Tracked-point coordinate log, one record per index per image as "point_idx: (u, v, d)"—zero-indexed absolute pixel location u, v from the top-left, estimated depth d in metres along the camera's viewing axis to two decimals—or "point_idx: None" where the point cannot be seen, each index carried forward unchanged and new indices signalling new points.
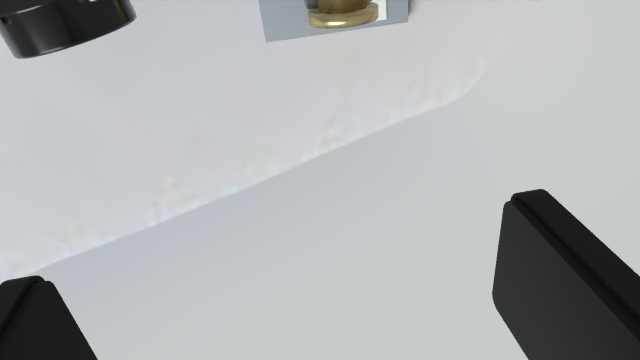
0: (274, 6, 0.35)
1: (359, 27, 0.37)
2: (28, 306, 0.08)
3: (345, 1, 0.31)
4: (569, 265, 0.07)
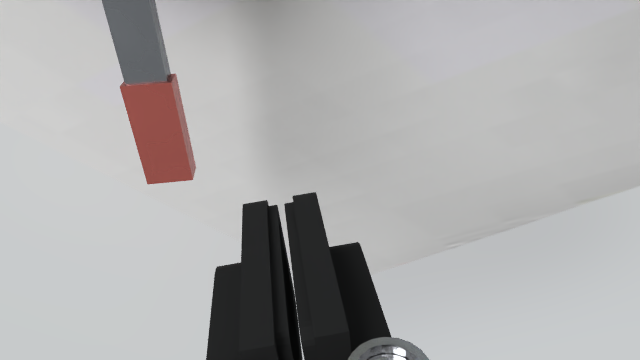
0: None
1: None
2: (277, 221, 0.09)
3: None
4: (294, 261, 0.08)
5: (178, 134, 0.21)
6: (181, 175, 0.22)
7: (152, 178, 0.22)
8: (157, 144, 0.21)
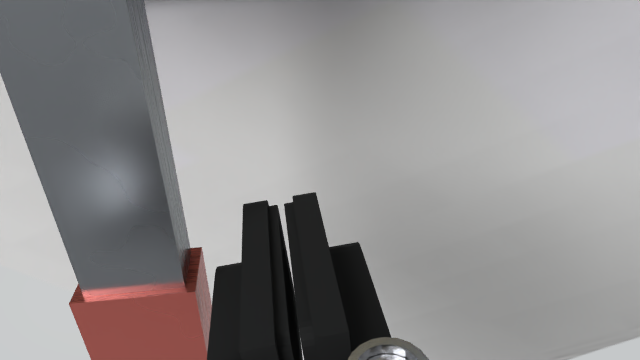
0: None
1: None
2: (277, 221, 0.09)
3: None
4: (293, 261, 0.08)
5: None
6: None
7: None
8: None
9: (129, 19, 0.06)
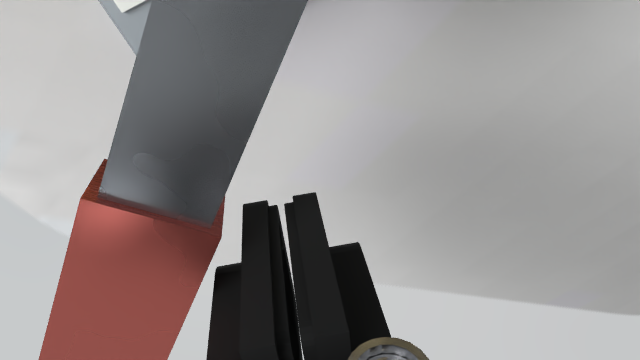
0: None
1: None
2: (277, 221, 0.09)
3: None
4: (293, 261, 0.08)
5: (167, 333, 0.08)
6: None
7: None
8: (102, 339, 0.08)
9: None
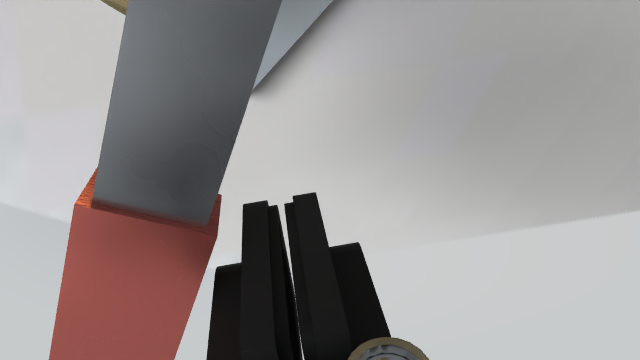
0: None
1: None
2: (277, 221, 0.09)
3: None
4: (293, 261, 0.08)
5: (171, 334, 0.08)
6: None
7: None
8: (109, 342, 0.08)
9: None
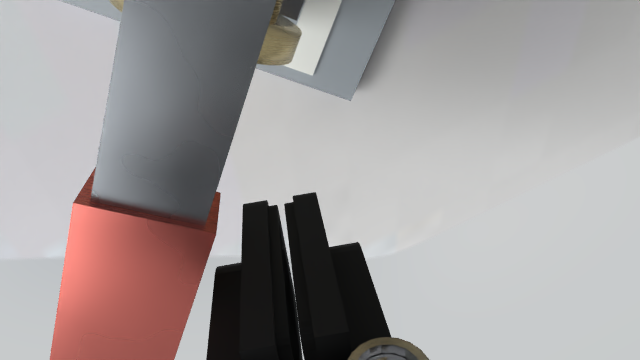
0: None
1: None
2: (277, 221, 0.09)
3: None
4: (293, 261, 0.08)
5: (171, 332, 0.08)
6: None
7: None
8: (109, 340, 0.08)
9: None
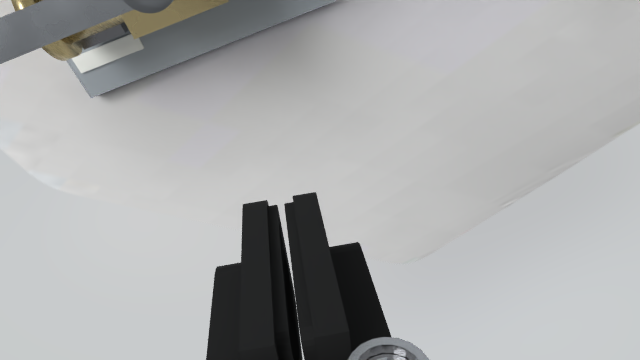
0: None
1: None
2: (277, 221, 0.09)
3: None
4: (294, 261, 0.08)
5: None
6: None
7: None
8: None
9: None
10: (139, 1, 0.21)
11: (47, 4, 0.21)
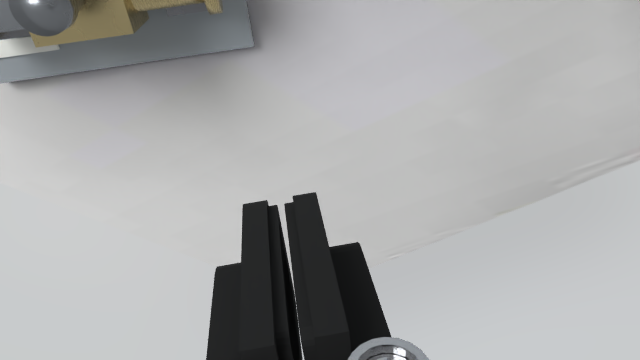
0: None
1: None
2: (277, 221, 0.09)
3: None
4: (294, 261, 0.08)
5: None
6: None
7: None
8: None
9: None
10: (31, 23, 0.23)
11: None
